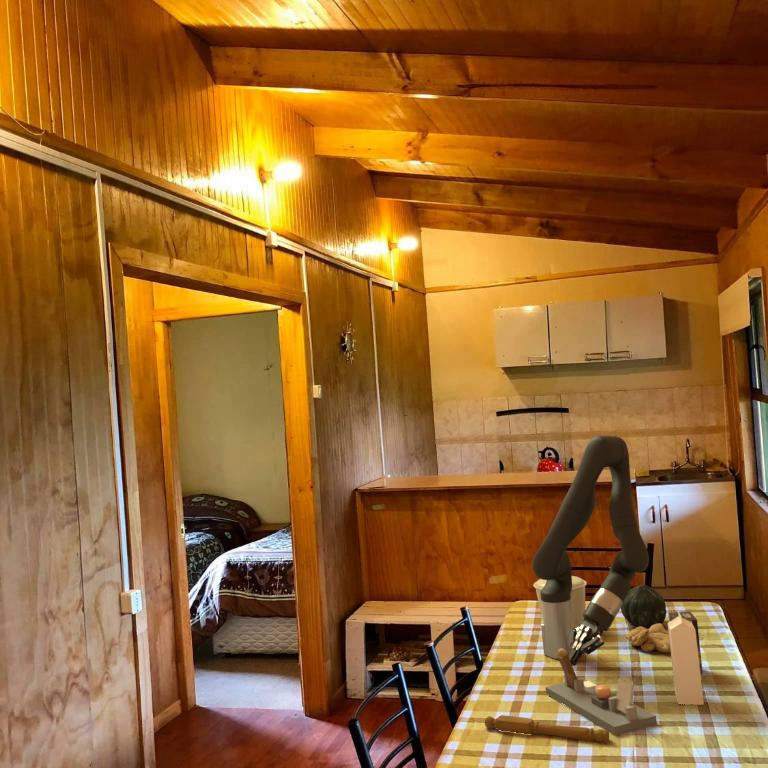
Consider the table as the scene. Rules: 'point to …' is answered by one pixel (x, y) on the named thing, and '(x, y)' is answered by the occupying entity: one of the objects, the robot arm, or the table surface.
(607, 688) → the terracotta button
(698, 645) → the coffee box
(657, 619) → the squash
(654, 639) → the ginger root
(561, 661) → the walnut lever
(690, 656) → the milk
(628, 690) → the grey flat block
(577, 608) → the canister
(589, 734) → the turned wooden table leg
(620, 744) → the table surface
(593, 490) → the robot arm
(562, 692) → the control panel
